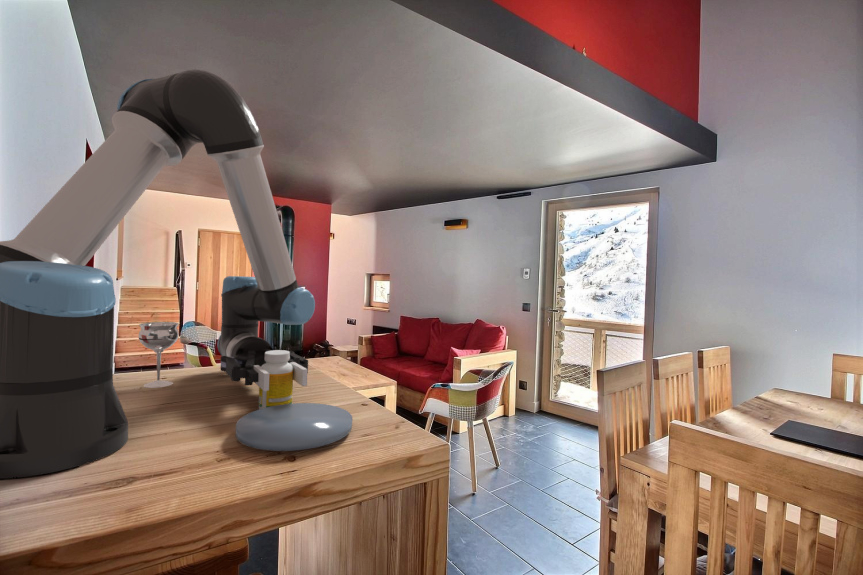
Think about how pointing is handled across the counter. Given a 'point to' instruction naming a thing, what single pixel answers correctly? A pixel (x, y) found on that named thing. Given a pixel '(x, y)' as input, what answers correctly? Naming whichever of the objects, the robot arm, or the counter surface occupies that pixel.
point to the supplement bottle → (277, 379)
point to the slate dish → (293, 426)
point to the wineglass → (158, 343)
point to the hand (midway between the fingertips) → (286, 379)
